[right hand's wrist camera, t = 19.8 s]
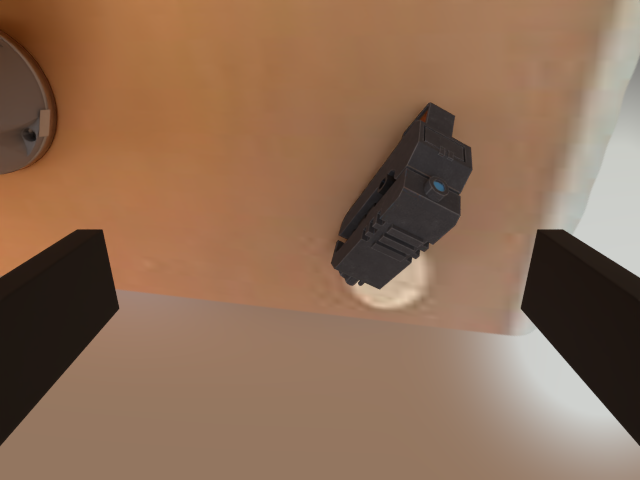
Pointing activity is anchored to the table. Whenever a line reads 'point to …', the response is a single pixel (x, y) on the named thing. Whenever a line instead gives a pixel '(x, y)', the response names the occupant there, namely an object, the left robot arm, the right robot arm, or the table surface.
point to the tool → (405, 202)
